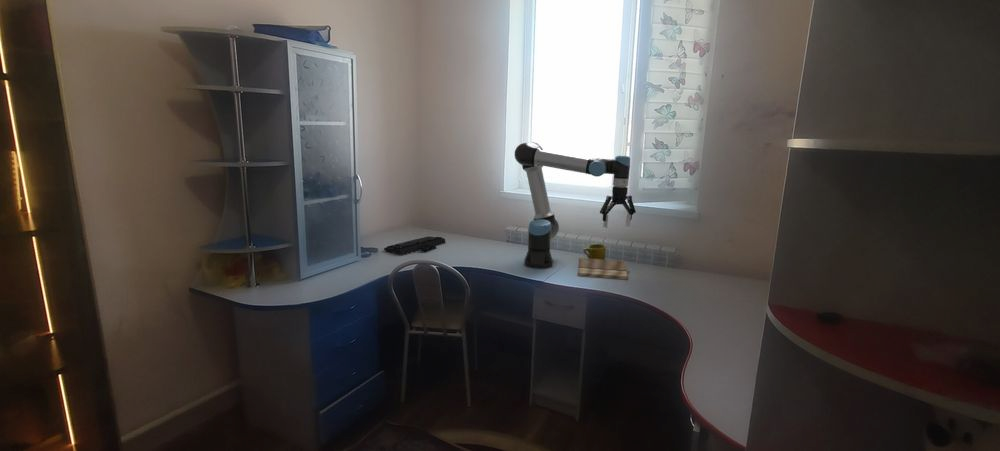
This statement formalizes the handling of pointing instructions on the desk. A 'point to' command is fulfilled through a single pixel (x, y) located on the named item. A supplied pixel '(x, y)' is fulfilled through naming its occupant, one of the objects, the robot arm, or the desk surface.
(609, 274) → the floor strip
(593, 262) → the plank
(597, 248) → the mug
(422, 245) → the black gun
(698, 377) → the desk surface
